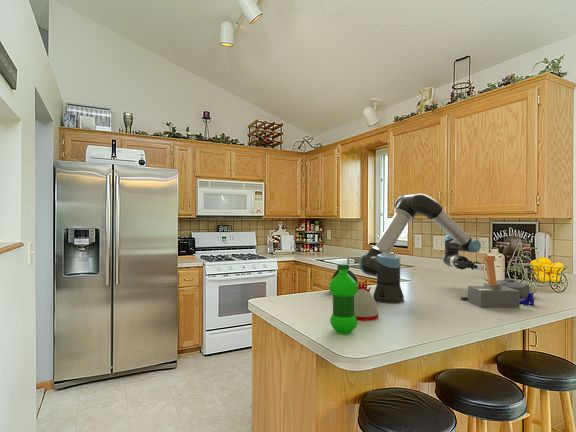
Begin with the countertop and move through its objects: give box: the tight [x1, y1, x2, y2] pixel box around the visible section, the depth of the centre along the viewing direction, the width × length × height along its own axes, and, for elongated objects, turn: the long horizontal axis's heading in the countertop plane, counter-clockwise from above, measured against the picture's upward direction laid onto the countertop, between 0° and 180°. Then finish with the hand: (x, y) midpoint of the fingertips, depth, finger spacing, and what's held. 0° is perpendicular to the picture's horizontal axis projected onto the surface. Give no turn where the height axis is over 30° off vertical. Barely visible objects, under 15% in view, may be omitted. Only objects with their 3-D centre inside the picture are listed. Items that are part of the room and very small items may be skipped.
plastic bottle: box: [328, 263, 359, 335], centre depth 126 cm, size 10×10×25 cm
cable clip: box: [520, 292, 535, 307], centre depth 170 cm, size 12×4×6 cm, turn 45°
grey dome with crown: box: [354, 281, 379, 322], centre depth 147 cm, size 14×14×15 cm
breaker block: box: [467, 282, 521, 309], centre depth 166 cm, size 18×12×10 cm, turn 89°
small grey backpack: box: [496, 279, 531, 299], centre depth 190 cm, size 15×8×20 cm
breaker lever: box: [483, 255, 497, 288], centre depth 168 cm, size 4×3×15 cm
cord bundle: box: [460, 296, 468, 301], centre depth 176 cm, size 21×3×1 cm, turn 89°
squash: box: [330, 268, 359, 286], centre depth 198 cm, size 14×15×15 cm
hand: (482, 267), depth 176 cm, fingers closed
